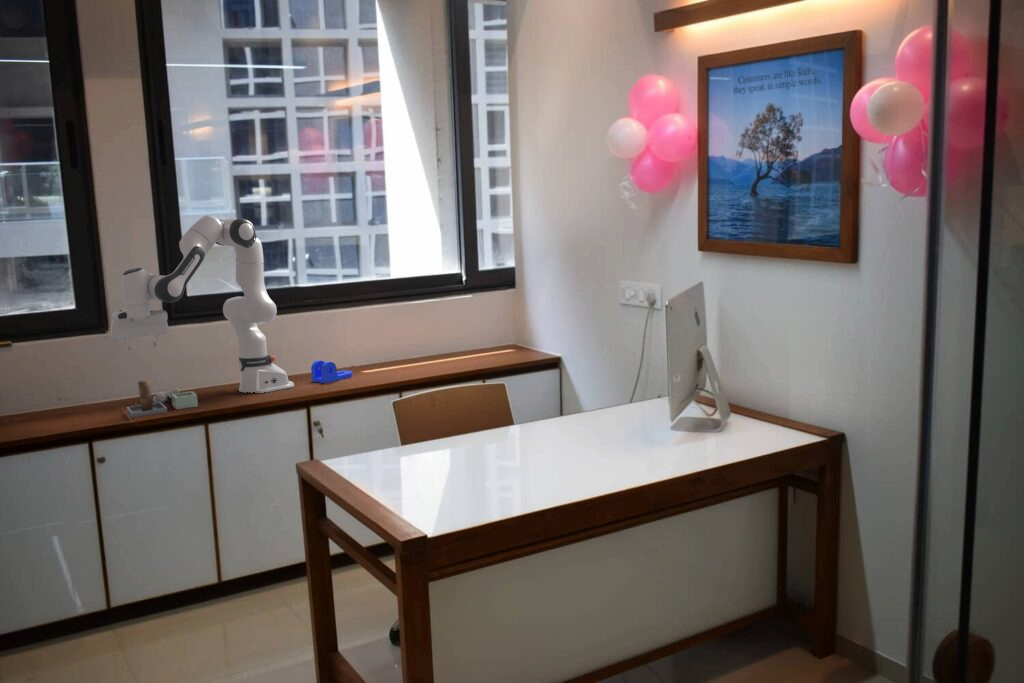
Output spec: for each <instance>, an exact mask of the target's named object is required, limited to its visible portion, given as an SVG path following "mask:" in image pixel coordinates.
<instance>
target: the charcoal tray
mask: <svg viewBox="0 0 1024 683" xmlns="http://www.w3.org/2000/svg"><path fill="white" fill-rule="evenodd" d="M152 407H153V410H148V411H142V410H141V404H140V405H137V406H136V405H131V406H126V414H127V413H128V414H127V415H128V416H129V418H130V417H131V418H130V419H131V421H133V419H135V418H137V417H144V416H149V415H157V414H163V413H168V407H167V406H166V405H165V404H164V403H161V402H158V403H154V402H152Z"/></svg>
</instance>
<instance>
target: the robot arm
mask: <svg viewBox="0 0 1024 683" xmlns="http://www.w3.org/2000/svg"><path fill="white" fill-rule="evenodd" d="M179 240H180V241H179V242H178V243H179V244H178V245H179V250H180V252H181V253H182V255H183V258H182V260H181V261H180V262H179V264H178V266H177V267H176V268H175V269H174V271H173V272H172V273H169V274H167V275H162V274H161V275H160V274H156V273H152V272H150V271H147V270H145V269H144V268H142V267H135V268H130V269H127V270H125V271H124V272H123V273H122V277H121V288H122V296H123V298H124V304H123V306H124V308H122V309H119V310H117V311H115V312H112V314H111V315H112V318H113V319H112V321H111V323H110V338H111V339H112V340H121V341H122V343H123V344H124V345H125V351H132V346H131V344H128V343H127V341H128V340H127V339H133V338H141V337H149V336H154V337H155V340H154V341H152V347H153V348H158V342H159V340H160V338H161V336H160V335H167V334H168V333H169V332H170V329H169V324H168V318H169V317H168V312H167V311H166V310H163V309H156V310H151V304H150V300H151V301H159V302H164V303H169V304H173V303H176V302H178V301H179V300H181V298H182V297H183V295H184V293H185V290H186V287H187V285H188V283H189V281H190V280H191V278H193V276H194V274H195V273H196V272H197V271H198V270H199V268H200V266H201V264H202V263H203V262H204V259H205V257H206V256H207V254H208V253H209V252H210V251H211V249H212V248H213V247H214V246H215V245H219V246H222V247H223V246H224V247H225V246H226V247H233V248H234V250H235V283H236V284H237V285H238V286H239V288H241V290H242V293H243V294H244V295H243V296H235V297H231V298H228V299H226V300H225V301H224V304H223V305H222V306H223V307H222V313H223V316H224V317H225V319H227V320H228V321H229V323H230V324H231V326H232V328H233V330H234V332H235V334H236V337H237V342H238V350H239V352H238V353H239V357H238V366H239V370H240V378H239V380H240V382H239V387H238V391H239V392H241V393H247V392H248V394H250V393H251V394H253V392H255V393H256V394H263V393H264V392H265V393H269V392H276V391H279V390H280V391H281V390H285V389H291V388H293V387H295V383H294V381H292V380H289V378H288V375H287V372H286V371H285V370H284V369H282V368H281V367H279V366H278V365H276V364H274V363H273V362H276V359H277V358H276V357H275V356H274V355H269V354H268V349H267V348H268V347H267V338H266V336H265V334H264V333H263V332H262V331H261V330H260V329H259V326H258V325H264V324H268V323H271V322H273V321H274V320H275V319H276V317H277V313H278V310H277V304H275V302H274V300H272V299H271V298H270V296H269V294H268V292H267V289H266V286H265V273H264V272H265V271H264V270H265V269H264V265H265V264H264V262H265V261H264V250H263V244H262V241H261V240H260V239H259V238H258V237H257V234H256V228H255V226H254V225H253V223H252V222H251V221H250V220H248V219H245V218H243V217H242V218H241V217H240V218H239V217H237V218H234V217H230V218H225V219H219V218H217V217H215V216H213V215H209V214H206V215H204V216H203V217H201V218H200V219H198V220H197V221H196V222H195V223H194V224H192V226H190V227H189V228H188V229H187V231H186V232H184V234H183V235H182V237H181V239H179ZM249 392H250V393H249ZM255 393H254V394H255Z"/></svg>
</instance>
